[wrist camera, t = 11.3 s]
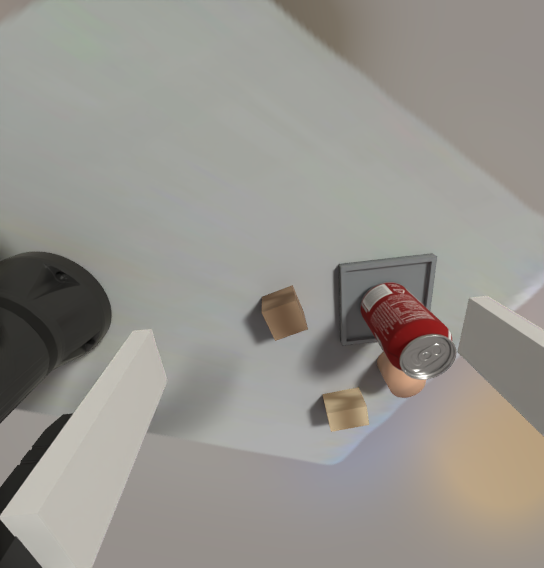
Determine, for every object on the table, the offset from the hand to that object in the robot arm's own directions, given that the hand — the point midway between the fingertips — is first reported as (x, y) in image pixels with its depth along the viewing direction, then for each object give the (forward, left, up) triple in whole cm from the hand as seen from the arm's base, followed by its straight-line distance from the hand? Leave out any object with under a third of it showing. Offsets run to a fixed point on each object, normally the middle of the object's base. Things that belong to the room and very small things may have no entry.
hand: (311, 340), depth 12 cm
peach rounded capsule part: (+15, -24, -25) cm, 38 cm away
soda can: (+13, -13, -25) cm, 31 cm away
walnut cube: (-1, -12, -25) cm, 28 cm away
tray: (+13, -13, -25) cm, 31 cm away
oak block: (+7, -31, -25) cm, 41 cm away
